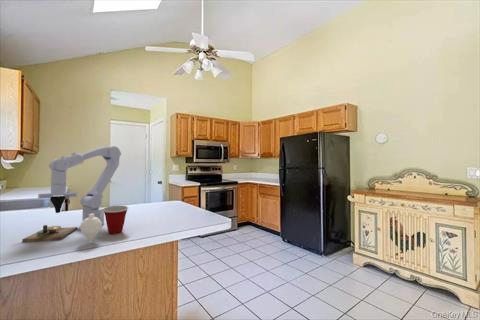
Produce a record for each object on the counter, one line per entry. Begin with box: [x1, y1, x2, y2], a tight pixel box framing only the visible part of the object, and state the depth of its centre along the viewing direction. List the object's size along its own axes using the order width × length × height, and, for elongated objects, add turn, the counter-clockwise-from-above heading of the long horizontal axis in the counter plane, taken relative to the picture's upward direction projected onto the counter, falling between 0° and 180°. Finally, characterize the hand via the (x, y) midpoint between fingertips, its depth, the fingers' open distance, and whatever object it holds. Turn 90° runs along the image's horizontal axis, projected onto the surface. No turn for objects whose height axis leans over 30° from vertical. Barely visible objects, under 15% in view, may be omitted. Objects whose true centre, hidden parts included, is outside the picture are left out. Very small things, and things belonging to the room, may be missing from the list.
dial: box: [42, 224, 62, 233], centre depth 104 cm, size 10×6×3 cm, turn 14°
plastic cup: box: [102, 205, 129, 235], centre depth 111 cm, size 11×11×12 cm
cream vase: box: [79, 214, 103, 243], centre depth 97 cm, size 8×8×12 cm
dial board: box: [21, 226, 79, 243], centre depth 106 cm, size 14×16×3 cm
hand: (58, 212), depth 110 cm, fingers closed
